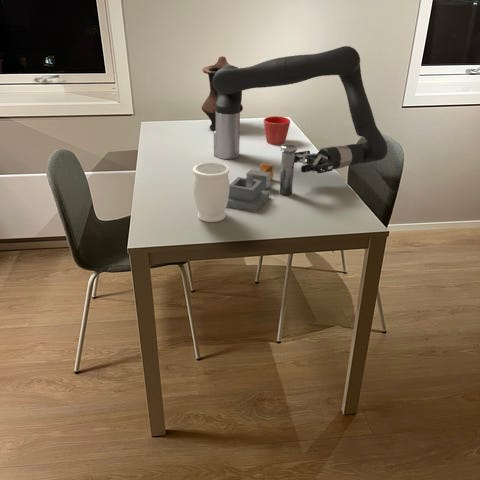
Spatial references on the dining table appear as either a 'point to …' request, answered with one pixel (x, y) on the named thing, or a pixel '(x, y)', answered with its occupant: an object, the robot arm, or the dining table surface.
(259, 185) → the socket
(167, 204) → the dining table surface
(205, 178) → the jar
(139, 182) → the dining table surface
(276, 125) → the flower pot
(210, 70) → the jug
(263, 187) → the block
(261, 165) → the lock pin
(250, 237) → the dining table surface
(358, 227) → the dining table surface
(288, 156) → the cylinder
